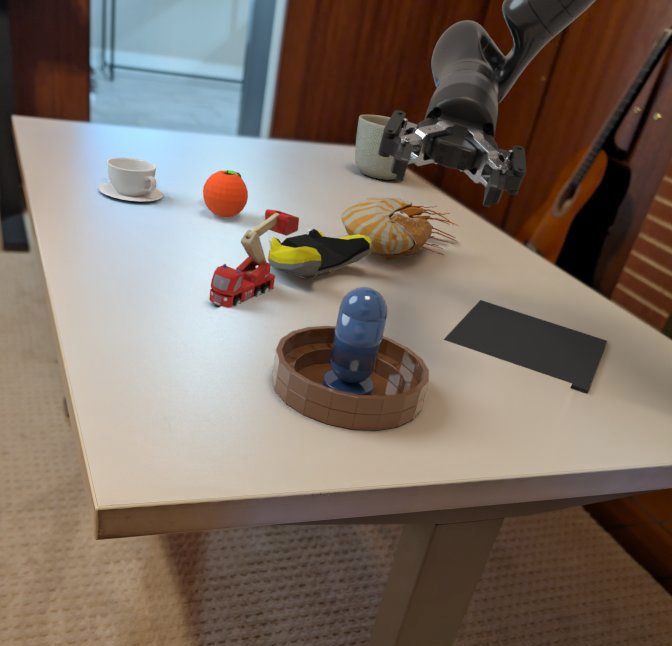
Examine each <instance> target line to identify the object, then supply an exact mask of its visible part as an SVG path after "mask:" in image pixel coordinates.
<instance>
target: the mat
mask: <svg viewBox="0 0 672 646" xmlns="http://www.w3.org/2000/svg"><path fill="white" fill-rule="evenodd" d="M443 341H446V342H449V343H452V344H454V345H458V346H460V347H463V348H467V349H469V350H471V351H472V350H473V351H476V352H478V353H481V354H484V355H486V356H489V357H492V358H496V359H499V360H501V361H504V362H507V363H510V364H513V365H516V366H518V367H522V368H524V369H528V370H530V371H534V372H537V373H540V374H543V375H546V376H549V377H552V378H554V379H557V380H560V381H563V382H567V383H569V384H571V385H570V388H571V389H573V390H576V391H580V392H582V393H585V394H588V393H589V391H590V389H591V386H592V384H593V380H594V378H595V375H596V373H597V370H598V367H599V364H600V362H601V359H602V357H603V354H604V352H605V348H606V346H607V343H608V340H607V339H603V338H601V337H597V336H595V335H591V334H589V333H585V332H581V331H580V330H579V331H578V330H576V329H573V328H569V327H566V326H563V325H560V324H558V323H554V322H551V321H547V320H545V319H541V318H538V317H535V316H533V315H530V314H526V313H523V312H519V311H517V310H513V309H510V308H507V307H504V306H501V305H497V304H495V303H492V302H488V301H485V300H483V299H480V300H479V301H478V302H477V303H476V304H475V305H474V306H473V307H472V308H471V309H470V310H469V312H468V313H467V314H466V315H464V317H463V318H462V319H461V320H460V321H459V322H458V323H457V324H456V325H455V326H454V327H453V329H452V330H451V331H450V332H448V334H447V335H446V336H445V338H444V339H443Z"/></svg>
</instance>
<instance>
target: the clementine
mask: <svg viewBox="0 0 672 646" xmlns="http://www.w3.org/2000/svg"><path fill="white" fill-rule="evenodd" d="M247 187H248V186H247V185H246V183H245V181H244V179H242V174H241V173H240V172H238V171H234V170H232V169H231V170H230V169H226V170H218V171H216V172H214V173H212V174H211V175H209V177H208V178H207V179H206V180H205V183H204V184H203V189H202V197H203V201H204V204H205V206H206V207H207V209H208V210H209V211H210V212H211V213H212V214H214V215H215V216H217V217H219V218H223V219H224V218H227V219H228V218H232V217H235V216H237V215H239V214H240V213H241V212H243V210H244V208H245V207H246V206H247V202H248V199H249V191H248V188H247Z"/></svg>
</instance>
